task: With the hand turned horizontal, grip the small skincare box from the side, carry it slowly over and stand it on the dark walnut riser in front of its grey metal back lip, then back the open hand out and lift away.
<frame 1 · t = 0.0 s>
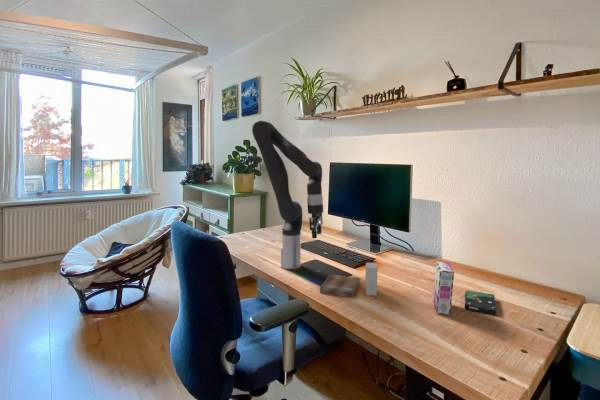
hand: (317, 236, 159), 17 cm above the table, tool pointing down, fingers open, 8 cm apart
disk drive: (479, 306, 125), on the table
skincare box: (370, 292, 136), on the table
candy bar box: (441, 308, 122), on the table
walnut riser: (340, 287, 141), on the table
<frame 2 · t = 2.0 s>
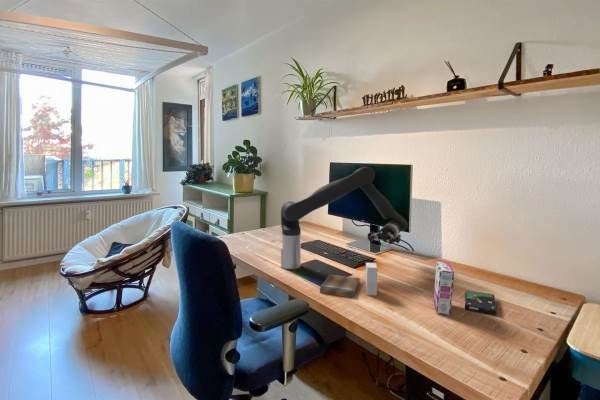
hand: (379, 240, 142), 19 cm above the table, tool horizontal, fingers open, 8 cm apart
nothing on the table moved.
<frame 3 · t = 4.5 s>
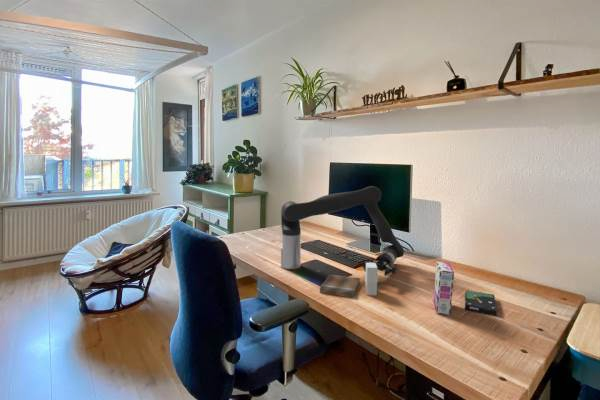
hand: (375, 271, 140), 7 cm above the table, tool horizontal, fingers open, 8 cm apart
nothing on the table moved.
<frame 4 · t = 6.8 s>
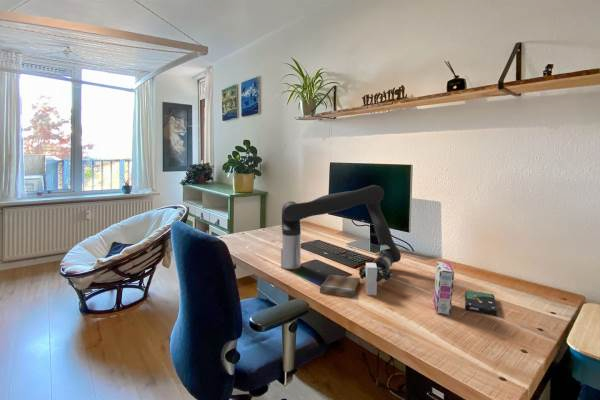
hand: (369, 278, 132), 7 cm above the table, tool horizontal, fingers closed on skincare box, 6 cm apart
skincare box: (370, 292, 136), on the table, touching gripper
everything else where it was.
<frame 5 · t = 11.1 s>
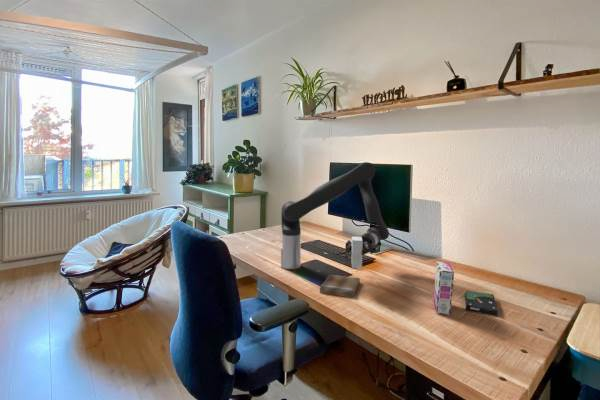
hand: (355, 251, 133), 18 cm above the table, tool horizontal, fingers closed on skincare box, 6 cm apart
skincare box: (356, 266, 137), point 10 cm above the table, touching gripper
everything else where it was.
when the fingers open (10 cm above the table, at t = 15.2 s): skincare box stays where it is, resting on walnut riser.
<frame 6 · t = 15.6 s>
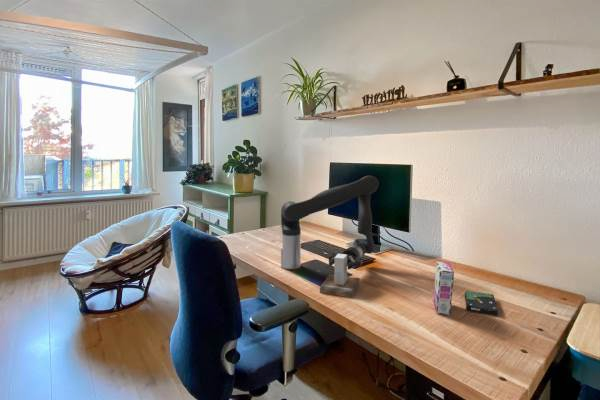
hand: (339, 265, 138), 10 cm above the table, tool horizontal, fingers open, 8 cm apart
skincare box: (340, 282, 141), point 2 cm above the table, touching walnut riser
everything else where it was.
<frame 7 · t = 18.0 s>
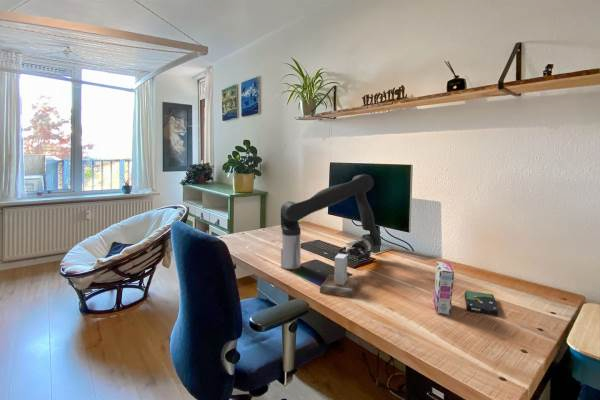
hand: (349, 257, 148), 10 cm above the table, tool horizontal, fingers open, 8 cm apart
nothing on the table moved.
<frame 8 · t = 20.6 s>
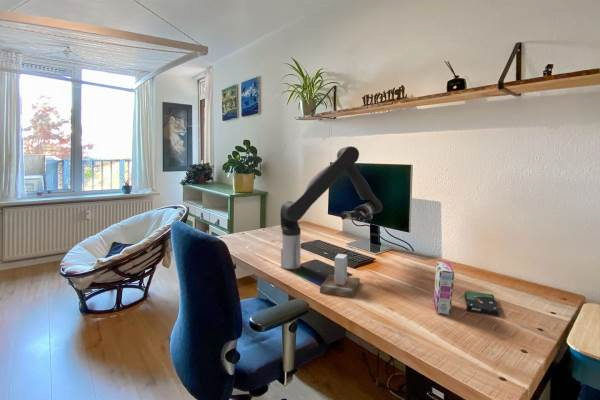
hand: (351, 218, 148), 28 cm above the table, tool horizontal, fingers open, 8 cm apart
nothing on the table moved.
at the end: skincare box inside the target area on the walnut riser (0.1 cm from its centre), point 1.8 cm above the walnut riser's base; skincare box tilted 0°; the gripper is holding nothing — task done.
